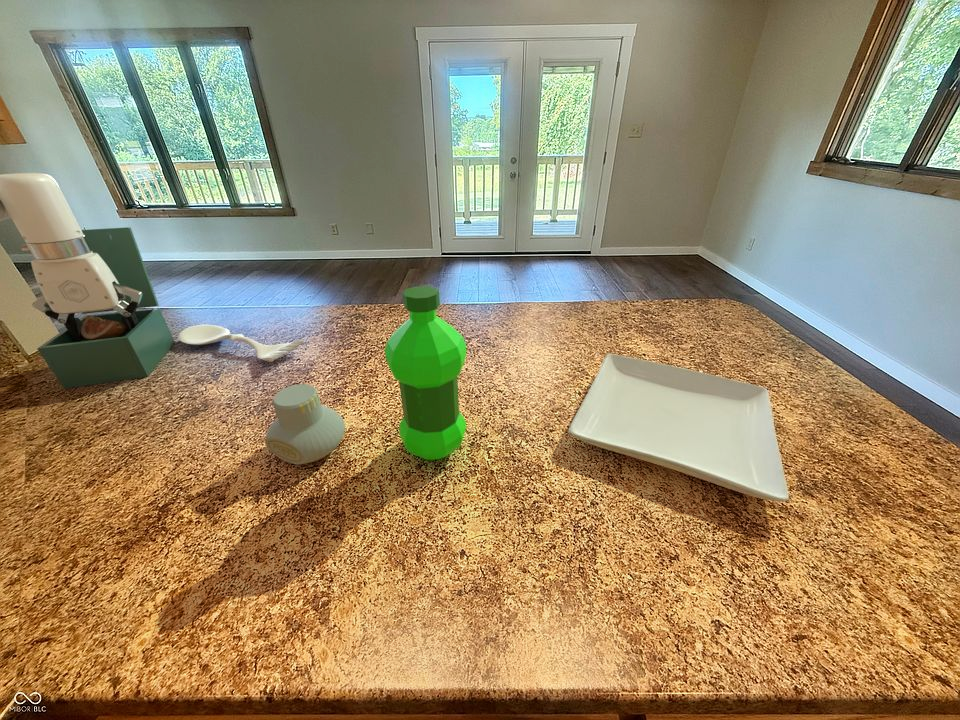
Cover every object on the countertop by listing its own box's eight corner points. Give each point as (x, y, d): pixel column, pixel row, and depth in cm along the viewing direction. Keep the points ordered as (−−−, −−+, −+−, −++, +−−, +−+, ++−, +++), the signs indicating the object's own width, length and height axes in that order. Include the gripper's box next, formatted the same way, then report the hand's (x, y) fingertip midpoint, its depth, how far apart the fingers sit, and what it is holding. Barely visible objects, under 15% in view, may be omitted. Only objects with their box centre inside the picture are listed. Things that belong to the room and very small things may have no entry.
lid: (128, 227, 78) (130, 227, 79) (45, 232, 74) (48, 231, 75) (157, 306, 84) (159, 305, 85) (81, 314, 80) (84, 313, 81)
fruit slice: (143, 336, 79) (132, 314, 77) (107, 351, 74) (94, 328, 71) (116, 330, 82) (104, 309, 79) (79, 344, 76) (65, 322, 74)
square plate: (604, 366, 78) (607, 350, 76) (761, 404, 67) (769, 385, 65) (564, 448, 58) (566, 428, 56) (780, 521, 47) (793, 500, 45)
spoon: (275, 372, 77) (270, 357, 75) (172, 345, 88) (166, 331, 86) (308, 352, 84) (304, 338, 83) (209, 329, 95) (204, 316, 93)
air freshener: (357, 439, 60) (345, 387, 55) (320, 477, 53) (302, 421, 48) (303, 423, 63) (288, 372, 58) (262, 456, 57) (240, 402, 52)
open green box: (148, 376, 76) (127, 337, 72) (64, 389, 72) (36, 348, 68) (175, 342, 89) (159, 307, 84) (104, 351, 85) (84, 315, 81)
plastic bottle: (424, 419, 64) (410, 274, 52) (480, 438, 60) (479, 286, 47) (386, 457, 56) (358, 298, 44) (446, 482, 52) (434, 314, 40)
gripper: (-17, 259, 63) (44, 350, 72) (109, 250, 68) (152, 337, 77) (14, 248, 69) (67, 334, 78) (128, 241, 74) (166, 322, 83)
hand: (109, 335), depth 77 cm, fingers closed on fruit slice, 8 cm apart
